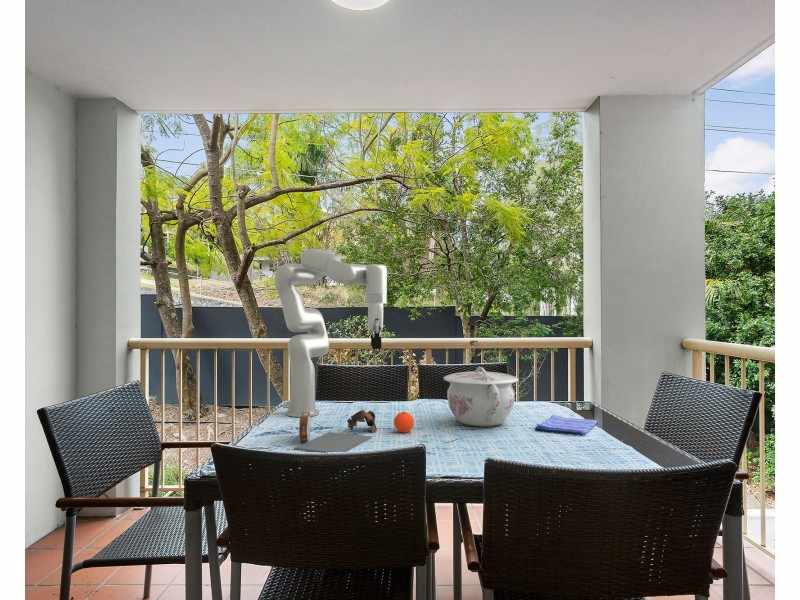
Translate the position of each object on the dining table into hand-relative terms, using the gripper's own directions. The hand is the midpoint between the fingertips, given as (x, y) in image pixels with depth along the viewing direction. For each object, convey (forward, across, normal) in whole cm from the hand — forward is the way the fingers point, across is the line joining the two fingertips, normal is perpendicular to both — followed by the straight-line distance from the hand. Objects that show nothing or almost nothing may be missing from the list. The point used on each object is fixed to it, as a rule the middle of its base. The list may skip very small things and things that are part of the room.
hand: (376, 347), depth 207 cm
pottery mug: (+29, +4, -4) cm, 29 cm away
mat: (+28, +21, -14) cm, 38 cm away
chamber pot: (+29, -4, +39) cm, 48 cm away
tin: (+28, +16, -23) cm, 40 cm away
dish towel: (+29, +5, +68) cm, 74 cm away
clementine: (+29, +7, +9) cm, 31 cm away
